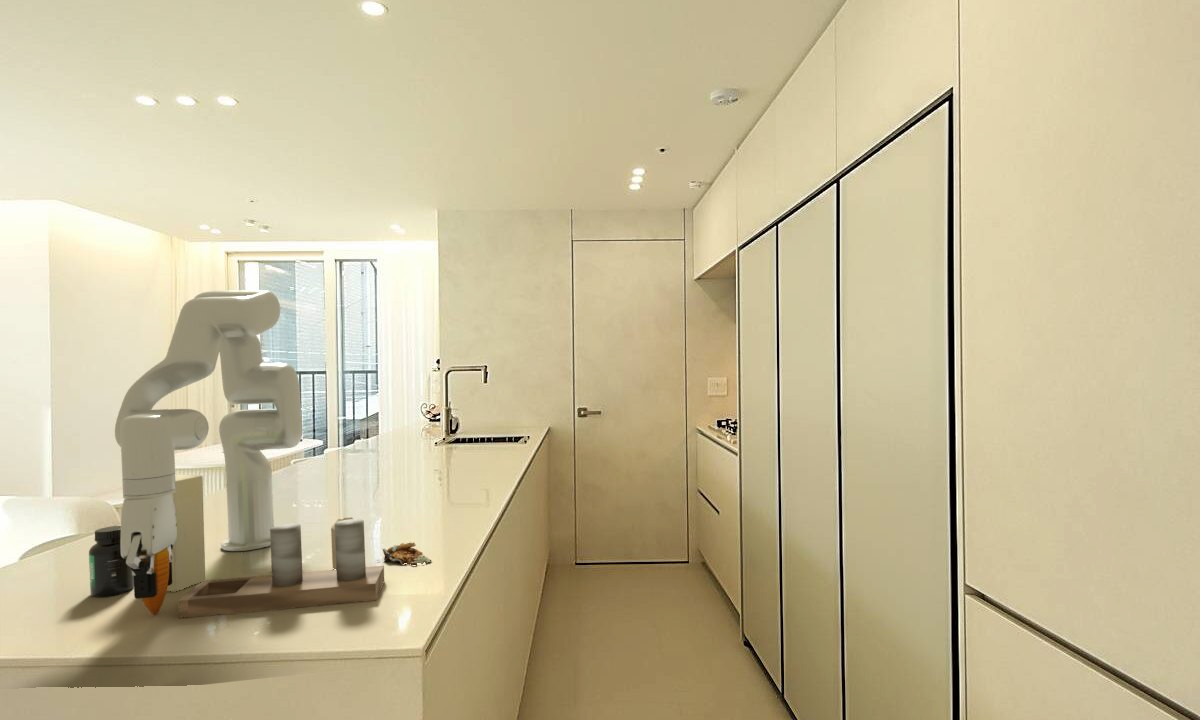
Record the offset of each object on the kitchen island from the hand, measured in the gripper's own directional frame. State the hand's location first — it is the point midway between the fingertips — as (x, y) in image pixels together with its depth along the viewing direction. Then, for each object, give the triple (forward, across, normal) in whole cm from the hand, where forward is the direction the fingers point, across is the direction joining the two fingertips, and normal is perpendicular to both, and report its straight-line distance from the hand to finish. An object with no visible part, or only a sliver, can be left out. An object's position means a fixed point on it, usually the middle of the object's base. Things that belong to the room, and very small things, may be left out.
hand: (154, 590), depth 114 cm
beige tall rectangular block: (+4, -16, -3) cm, 17 cm away
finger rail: (+4, -2, +21) cm, 22 cm away
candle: (+4, -18, +28) cm, 34 cm away
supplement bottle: (+4, -15, -14) cm, 21 cm away
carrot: (+4, 0, 0) cm, 4 cm away
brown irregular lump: (+5, -20, +40) cm, 45 cm away
